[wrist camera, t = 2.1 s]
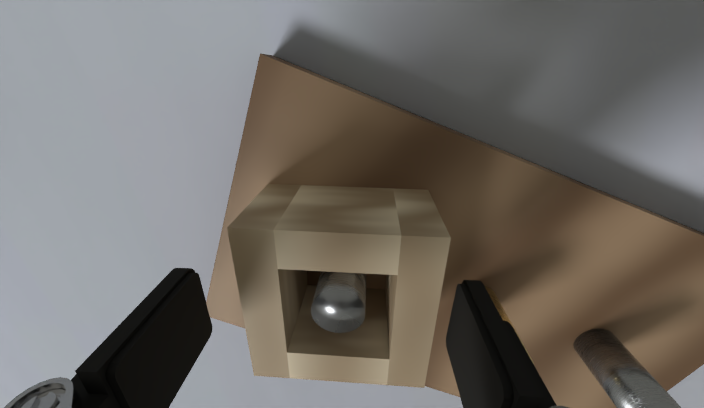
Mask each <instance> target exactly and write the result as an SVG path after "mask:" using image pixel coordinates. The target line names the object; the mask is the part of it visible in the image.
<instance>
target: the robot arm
mask: <svg viewBox="0 0 704 408" xmlns="http://www.w3.org/2000/svg"><path fill="white" fill-rule="evenodd" d="M211 333H212V324H211V320H210V316H209V312H208V308H207V304H206V300H205V297H204V293H203V289H202V285H201V281H200V277H199V274H198V273H195V271H194V270H193V269H189V268H175V269H173V270H172V271H171V272H170V273H169V274H168V275H167V276H166V277H165V278H164V279H163V280H162V281H161V282H160V283H159V284H158V285H157V287H156V288H155V289H154V290H153V291H152V292H151V293H150V294H149V295H148V296H147V297H146V298H145V299H144V300H143V301H142V302H141V303H140V304H139V305H138V306H137V307H136V308H135V309H134V310H133V311H132V313H131V314H130V315H129V316H128V317H127V318H126V319H125V320H124V321H123V322H122V323H121V324H120V325H119V326H118V327H117V328H116V329H115V330H114V331H113V332H112V333H111V334H110V335H109V336H108V337H107V339H106V340H105V341H104V342H103V343H102V344H101V345H100V346H99V347H98V348H97V349H96V350H95V351H94V352H93V353H92V354H91V355H90V356H89V357H88V358H87V359H86V360H85V361H84V362H83V363H82V365H81V366H80V367H79V368H78V369H77V370H76V371H75V372H76V373H77V374H76V375H75V376H74V377H73V378H72V380H71V381H70V380H69V379H68V378H61V377H60V378H53V379H49V380H46V381H43V382H40V383H38V384H36V385H34V386H32V387H30V388H28V389H27V390H25V391H24V392H22V393H21V394H19V395H18V396H16V397H15V398H14V399H13V400H12V401H11V402H9V403H8V404H7V405H6V406H5V407H4V408H169V406H170V404H171V403H172V401H173V399H174V398H175V396H176V394H177V392H178V391H179V389H180V387H181V386H182V384H183V382H184V380H185V379H186V377H187V375H188V374H189V372H190V370H191V368H192V367H193V365H194V363H195V362H196V360H197V358H198V356H199V355H200V353H201V351H202V350H203V348H204V346H205V344H206V343H207V341H208V339H209V338H210V336H211ZM446 347H447V351H448V355H449V358H450V362H451V366H452V369H453V373H454V376H455V380H456V383H457V387H458V390H459V394H460V397H461V401H462V404H463V408H569V407H565V406H557V405H556V403H555V402H554V400H553V398H552V396H551V394H550V393H549V391H548V389H547V387H546V386H545V384H544V382H543V380H542V378H541V377H540V375H539V373H538V371H537V369H536V368H535V366H534V364H533V362H532V361H531V359H530V357H529V355H528V353H527V352H526V350H525V348H524V346H523V344H522V343H521V341H520V339H519V337H518V336H517V334H516V332H515V330H514V328H513V327H512V325H511V324H510V323H509V322H508V321H503V320H502V318H501V316H500V314H499V312H498V311H497V309H496V307H495V305H494V303H493V301H492V299H491V297H490V296H489V294H488V292H487V290H486V288H485V286H484V284H483V283H482V281H480V280H463V282H462V284H458V285H457V287H456V292H455V297H454V301H453V306H452V311H451V316H450V321H449V325H448V330H447V335H446Z"/></svg>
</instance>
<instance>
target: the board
mask: <svg viewBox="0 0 704 408" xmlns="http://www.w3.org/2000/svg"><path fill="white" fill-rule="evenodd" d="M267 184H283V185H311V186H338V187H366V188H394V189H421V190H429V192H430V195H431V197H432V199H433V201H434V203H435V205H436V207H437V209H438V212H439V214H440V216H441V218H442V220H443V222H444V224H445V226H446V228H447V231H448V233H449V235H450V237H451V240H450V246H449V252H448V257H447V263H446V268H445V274H444V280H443V285H442V291H441V297H440V302H439V308H438V313H437V319H436V325H435V330H434V336H433V342H432V347H431V353H430V358H429V364H428V370H427V375H426V381H425V386H427V387H430V388H433V389H436V390H439V391H443V392H446V393H449V394H452V395H455V396H458V397H460V394H459V390H458V387H457V383H456V380H455V376H454V373H453V369H452V366H451V362H450V358H449V355H448V351H447V347H446V335H447V330H448V325H449V321H450V316H451V311H452V306H453V301H454V297H455V292H456V287H457V285H458V284H462V282H463V280H480V281H482V283H483V284H484V286H485V288H486V290H487V292H488V294H489V296H490V297H491V299H492V301H493V303H494V305H495V307H496V309H497V311H498V312H499V314H500V316H501V318H502V320H503V321H508V322H509V323H510V324H511V325H512V327H513V328H514V330H515V332H516V334H517V336H518V337H519V339H520V341H521V343H522V344H523V346H524V348H525V350H526V352H527V353H528V355H529V357H530V359H531V361H532V362H533V364H534V366H535V368H536V369H537V371H538V373H539V375H540V377H541V378H542V380H543V382H544V384H545V386H546V387H547V389H548V391H549V393H550V394H551V396H552V398H553V400H554V402H555V403H556V405H557V406H565V407H569V408H681V407H680V406H679V405H678V404H677V403H676V401H675V400H674V399H673V398H672V397H671V396H670V395H669V394H668V393H667V391H668V390H669V389H671V388H672V387H673V386H675V385H676V384H677V383H679V382H680V381H681V380H683V379H684V378H685V377H687V376H688V375H690V374H691V373H692V372H694V371H695V370H696V369H698V368H699V367H700V366H702V365H703V364H704V233H702V232H699V231H697V230H694V229H692V228H690V227H687V226H685V225H682V224H680V223H677V222H675V221H673V220H670V219H668V218H665V217H663V216H661V215H658V214H656V213H653V212H651V211H648V210H646V209H644V208H641V207H639V206H636V205H634V204H631V203H629V202H627V201H624V200H622V199H619V198H617V197H614V196H612V195H610V194H607V193H605V192H602V191H600V190H597V189H595V188H593V187H590V186H588V185H585V184H583V183H580V182H578V181H576V180H573V179H571V178H568V177H566V176H563V175H561V174H559V173H556V172H554V171H551V170H549V169H547V168H544V167H542V166H539V165H537V164H534V163H532V162H530V161H527V160H525V159H522V158H520V157H517V156H515V155H513V154H510V153H508V152H505V151H503V150H500V149H498V148H496V147H493V146H491V145H488V144H486V143H483V142H481V141H479V140H476V139H474V138H471V137H469V136H466V135H464V134H462V133H459V132H457V131H454V130H452V129H449V128H447V127H445V126H442V125H440V124H437V123H435V122H433V121H430V120H428V119H425V118H423V117H420V116H418V115H416V114H413V113H411V112H408V111H406V110H403V109H401V108H399V107H396V106H394V105H391V104H389V103H386V102H384V101H382V100H379V99H377V98H374V97H372V96H369V95H367V94H365V93H362V92H360V91H357V90H355V89H352V88H350V87H348V86H345V85H343V84H340V83H338V82H336V81H333V80H331V79H328V78H326V77H323V76H321V75H319V74H316V73H314V72H311V71H309V70H306V69H304V68H302V67H299V66H297V65H294V64H292V63H289V62H287V61H285V60H282V59H280V58H277V57H275V56H272V55H266V54H260V57H259V61H258V66H257V71H256V75H255V80H254V84H253V89H252V94H251V98H250V103H249V107H248V112H247V117H246V121H245V126H244V131H243V135H242V140H241V144H240V149H239V154H238V158H237V163H236V168H235V172H234V177H233V181H232V186H231V191H230V195H229V200H228V204H227V209H226V214H225V218H224V223H223V228H222V232H221V237H220V241H219V246H218V251H217V255H216V260H215V265H214V269H213V274H212V278H211V283H210V288H209V292H208V297H207V302H206V304H207V308H208V312H209V316H210V317H211V318H214V319H217V320H221V321H224V322H227V323H230V324H233V325H236V326H239V327H242V328H245V323H244V318H243V312H242V307H241V302H240V296H239V291H238V285H237V280H236V275H235V269H234V264H233V258H232V253H231V247H230V242H229V237H228V231H227V227H228V226H229V225H230V224H231V223H232V222H233V221H234V220H235V219H236V218H237V217H238V215H239V214H240V213H241V212H242V211H243V210H244V209H245V208H246V207H247V206H248V205H249V204H250V203H251V201H252V200H253V199H254V198H255V197H256V196H257V195H258V194H259V193H260V192H261V191H262V190H263V189H264V188H265V186H266V185H267ZM307 285H316V286H317V287H316V291H315V295H314V299H313V303H312V306H311V315H312V318H313V319H314V321H315V322H316V323H317V324H318V325H319V326H320V327H321V328H323V329H325V330H327V331H330V332H334V333H347V332H350V331H353V330H355V329H357V328H358V327H359V326H360V325H361V324H362V323H363V321H364V319H365V307H366V288H372V289H385V287H386V275H384V274H365V273H346V272H326V271H307Z"/></svg>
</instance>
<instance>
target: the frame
mask: <svg viewBox="0 0 704 408" xmlns="http://www.w3.org/2000/svg"><path fill="white" fill-rule="evenodd" d="M227 231H228V237H229V242H230V247H231V253H232V258H233V264H234V269H235V275H236V280H237V285H238V291H239V296H240V302H241V307H242V312H243V318H244V323H245V329H246V334H247V339H248V345H249V350H250V356H251V361H252V367H253V372H254V376H267V377H282V378H296V379H310V380H324V381H338V382H352V383H366V384H380V385H394V386H408V387H422V388H424V387H425V381H426V375H427V370H428V364H429V358H430V353H431V347H432V342H433V336H434V330H435V325H436V319H437V313H438V308H439V302H440V297H441V291H442V285H443V280H444V274H445V268H446V263H447V257H448V252H449V246H450V240H451V237H450V235H449V233H448V231H447V228H446V226H445V224H444V222H443V220H442V218H441V216H440V214H439V212H438V209H437V207H436V205H435V203H434V201H433V199H432V197H431V195H430V192H429V190H421V189H394V188H366V187H338V186H311V185H283V184H267V185H266V186H265V188H264V189H263V190H262V191H261V192H260V193H259V194H258V195H257V196H256V197H255V198H254V199H253V200H252V201H251V203H250V204H249V205H248V206H247V207H246V208H245V209H244V210H243V211H242V212H241V213H240V214H239V215H238V217H237V218H236V219H235V220H234V221H233V222H232V223H231V224H230V225H229V226H228V227H227ZM307 271H326V272H346V273H365V274H384V275H386V287H385V289H372V288H366V307H365V319H364V321H363V323H362V324H361V325H360V326H359V327H358V328H357V329H355V330H353V331H350V332H347V333H334V332H330V331H327V330H325V329H323V328H321V327H320V326H319V325H318V324H317V323H316V322H315V321H314V319H313V318H312V315H311V306H312V303H313V299H314V295H315V291H316V287H317V286H316V285H307Z"/></svg>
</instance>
